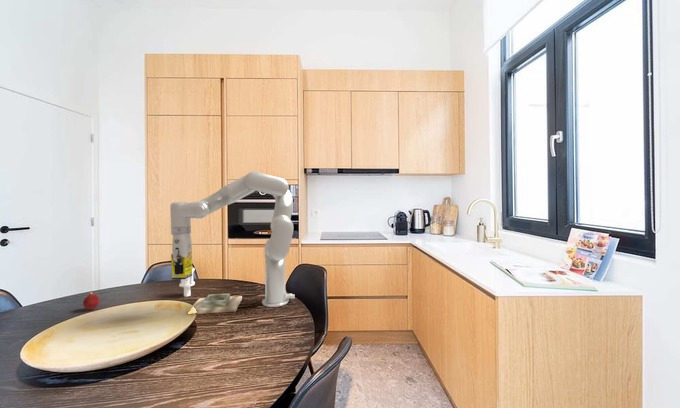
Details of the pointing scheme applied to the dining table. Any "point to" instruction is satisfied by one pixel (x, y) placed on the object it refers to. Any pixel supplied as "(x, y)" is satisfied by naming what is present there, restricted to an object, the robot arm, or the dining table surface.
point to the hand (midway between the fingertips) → (182, 271)
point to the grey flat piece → (217, 303)
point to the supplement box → (186, 267)
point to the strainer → (187, 284)
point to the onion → (91, 301)
